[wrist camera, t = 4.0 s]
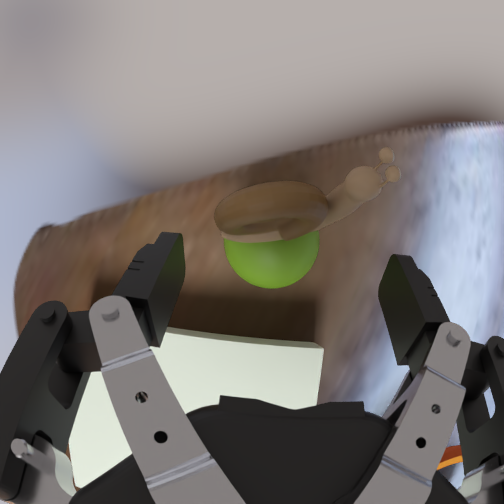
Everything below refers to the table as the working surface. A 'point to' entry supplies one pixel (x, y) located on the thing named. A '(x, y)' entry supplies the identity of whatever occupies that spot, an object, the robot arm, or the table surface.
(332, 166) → the table surface
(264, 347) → the sage board
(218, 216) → the snail figurine
